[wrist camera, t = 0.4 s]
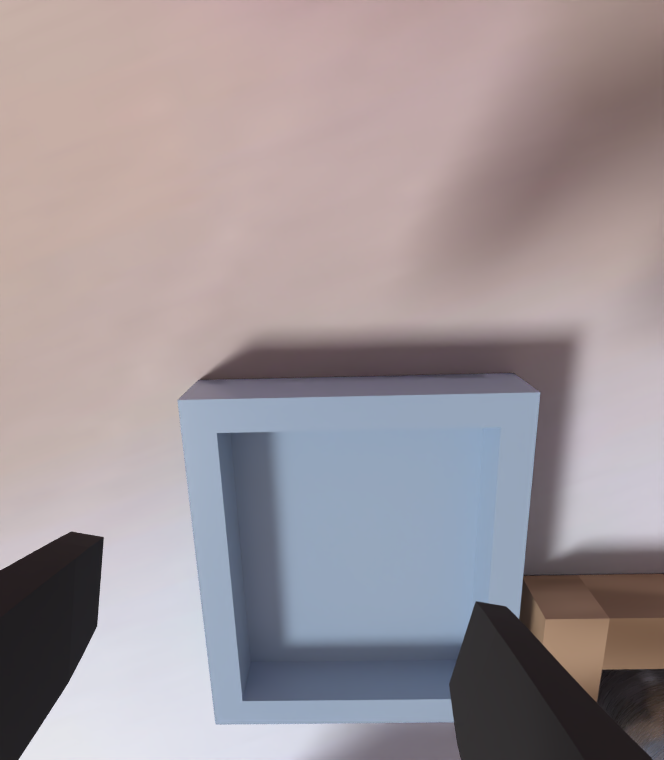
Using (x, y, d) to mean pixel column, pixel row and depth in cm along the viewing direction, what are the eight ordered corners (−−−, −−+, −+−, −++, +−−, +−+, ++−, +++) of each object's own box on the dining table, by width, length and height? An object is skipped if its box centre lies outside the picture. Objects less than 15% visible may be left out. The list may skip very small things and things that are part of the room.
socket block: (714, 750, 23) (758, 809, 21) (505, 752, 23) (524, 810, 21) (758, 572, 20) (814, 615, 18) (521, 575, 21) (545, 619, 18)
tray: (490, 669, 22) (509, 721, 20) (228, 672, 22) (215, 724, 20) (513, 373, 18) (540, 392, 16) (198, 380, 18) (177, 400, 16)
